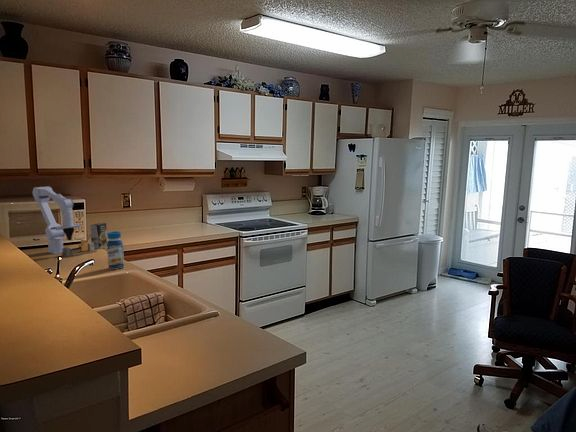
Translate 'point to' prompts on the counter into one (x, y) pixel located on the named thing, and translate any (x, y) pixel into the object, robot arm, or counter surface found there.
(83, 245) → the marker sleeve
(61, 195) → the robot arm
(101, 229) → the coffee box
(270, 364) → the counter surface
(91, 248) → the cord board
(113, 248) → the blue pill bottle
